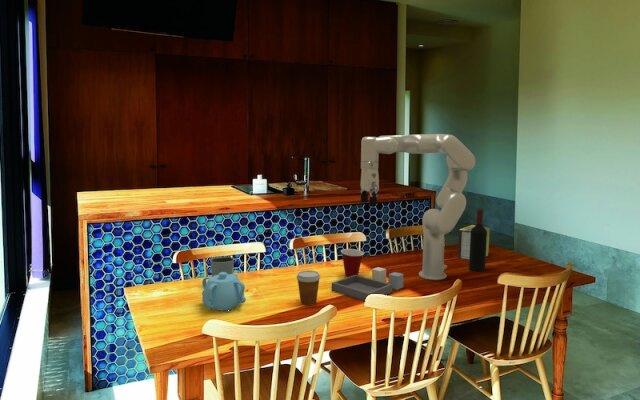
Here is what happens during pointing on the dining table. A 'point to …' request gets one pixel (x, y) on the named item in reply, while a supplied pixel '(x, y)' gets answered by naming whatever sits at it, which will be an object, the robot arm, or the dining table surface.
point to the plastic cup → (351, 261)
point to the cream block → (379, 274)
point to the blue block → (396, 280)
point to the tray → (360, 287)
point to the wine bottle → (478, 245)
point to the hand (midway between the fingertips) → (368, 204)
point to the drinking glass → (222, 265)
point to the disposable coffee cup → (308, 286)
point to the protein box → (468, 242)
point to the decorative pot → (223, 292)
